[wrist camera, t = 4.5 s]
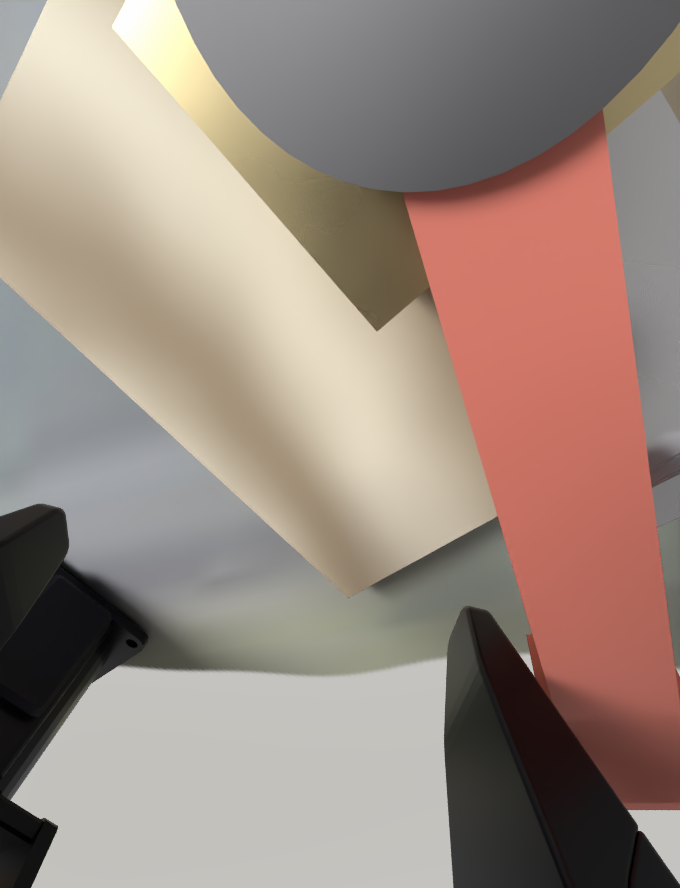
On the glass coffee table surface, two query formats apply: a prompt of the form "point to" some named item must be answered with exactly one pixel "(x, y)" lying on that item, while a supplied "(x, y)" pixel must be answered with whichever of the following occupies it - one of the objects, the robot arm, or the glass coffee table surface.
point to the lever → (507, 296)
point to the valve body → (391, 233)
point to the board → (227, 312)
